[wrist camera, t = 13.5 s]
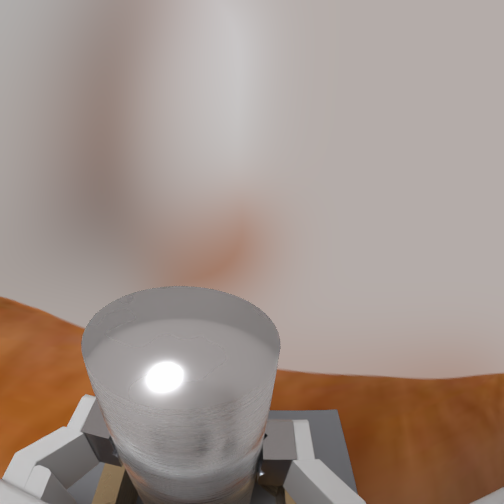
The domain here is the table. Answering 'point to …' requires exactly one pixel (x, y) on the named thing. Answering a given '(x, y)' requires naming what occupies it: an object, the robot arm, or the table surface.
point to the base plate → (325, 448)
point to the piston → (184, 390)
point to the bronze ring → (125, 495)
